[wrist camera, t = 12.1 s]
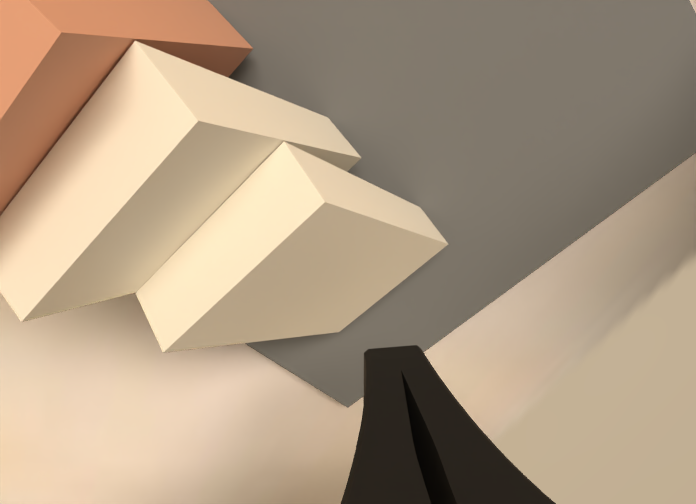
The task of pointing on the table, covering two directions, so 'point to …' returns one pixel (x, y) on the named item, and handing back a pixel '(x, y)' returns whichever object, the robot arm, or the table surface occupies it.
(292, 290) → the domino
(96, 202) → the domino
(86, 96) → the terracotta domino
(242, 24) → the mat
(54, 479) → the table surface
